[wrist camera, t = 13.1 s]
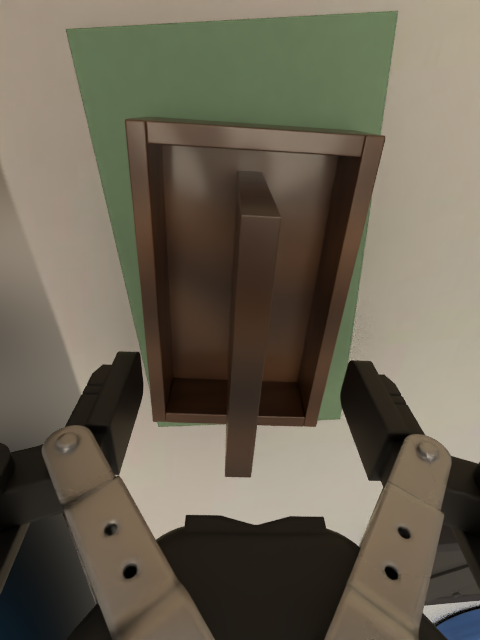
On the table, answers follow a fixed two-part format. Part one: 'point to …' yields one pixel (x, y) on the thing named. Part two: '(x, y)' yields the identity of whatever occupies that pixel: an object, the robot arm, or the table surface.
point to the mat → (231, 106)
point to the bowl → (462, 626)
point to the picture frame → (450, 574)
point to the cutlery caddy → (245, 266)
